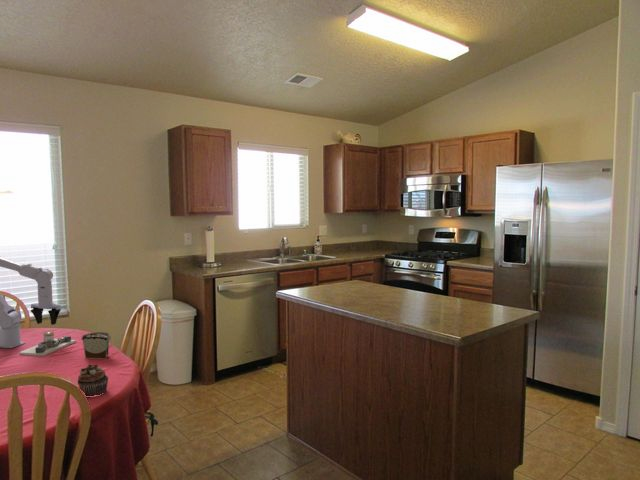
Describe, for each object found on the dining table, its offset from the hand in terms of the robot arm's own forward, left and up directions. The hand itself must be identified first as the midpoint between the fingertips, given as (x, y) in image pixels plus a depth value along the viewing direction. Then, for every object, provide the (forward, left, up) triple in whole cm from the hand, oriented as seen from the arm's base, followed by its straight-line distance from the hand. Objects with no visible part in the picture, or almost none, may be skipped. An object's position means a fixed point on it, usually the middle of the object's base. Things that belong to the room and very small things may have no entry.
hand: (46, 323), depth 211 cm
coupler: (+6, -6, -8) cm, 12 cm away
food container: (+36, -11, -10) cm, 39 cm away
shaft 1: (+8, -12, -9) cm, 18 cm away
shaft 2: (+8, 0, -9) cm, 13 cm away
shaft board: (+6, -6, -9) cm, 13 cm away
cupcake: (+59, -45, -10) cm, 75 cm away
